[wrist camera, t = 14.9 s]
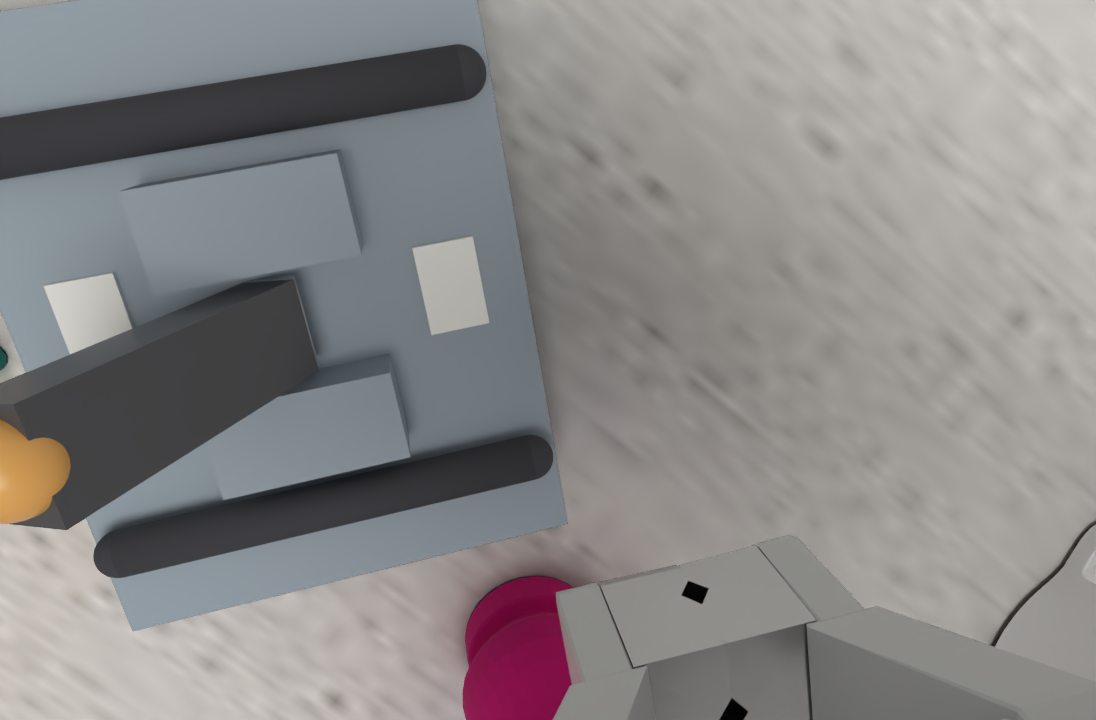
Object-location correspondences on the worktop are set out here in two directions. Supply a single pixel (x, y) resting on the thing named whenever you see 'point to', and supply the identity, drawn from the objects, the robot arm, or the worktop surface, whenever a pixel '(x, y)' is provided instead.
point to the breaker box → (286, 248)
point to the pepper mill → (516, 653)
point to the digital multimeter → (2, 359)
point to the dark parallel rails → (245, 114)
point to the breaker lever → (145, 399)
